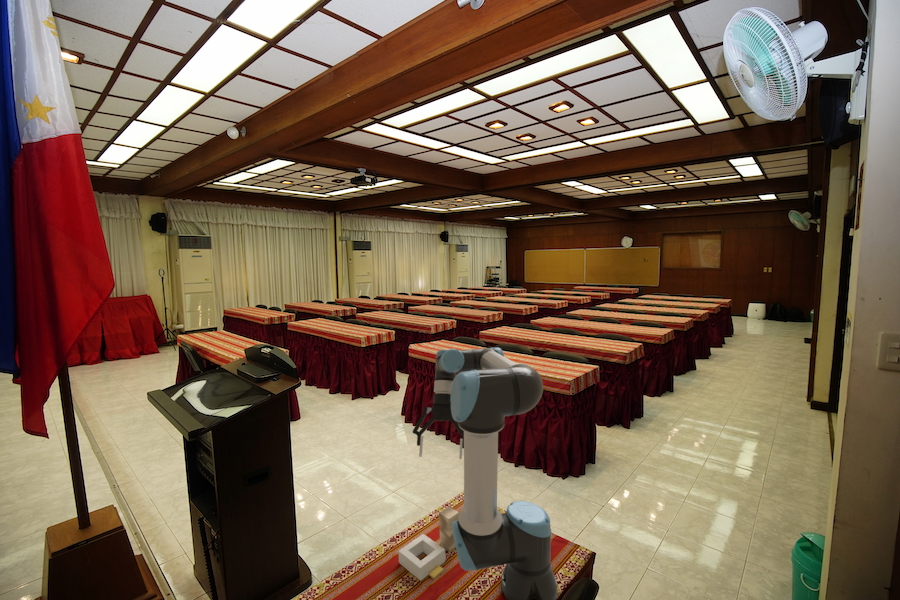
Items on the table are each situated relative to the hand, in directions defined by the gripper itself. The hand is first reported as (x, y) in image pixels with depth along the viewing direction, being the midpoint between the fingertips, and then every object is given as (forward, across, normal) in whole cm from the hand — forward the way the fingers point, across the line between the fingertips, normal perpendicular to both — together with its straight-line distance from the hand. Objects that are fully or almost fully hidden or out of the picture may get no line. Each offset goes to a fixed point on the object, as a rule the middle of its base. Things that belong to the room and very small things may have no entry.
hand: (440, 457), depth 135 cm
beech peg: (+26, -5, -2) cm, 26 cm away
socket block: (+30, +3, +5) cm, 30 cm away
